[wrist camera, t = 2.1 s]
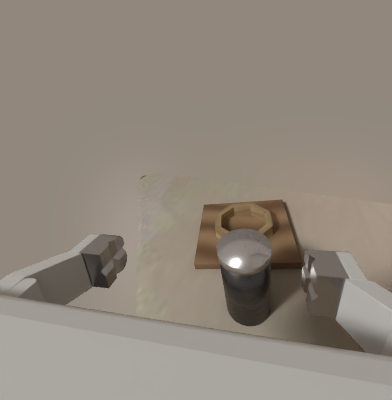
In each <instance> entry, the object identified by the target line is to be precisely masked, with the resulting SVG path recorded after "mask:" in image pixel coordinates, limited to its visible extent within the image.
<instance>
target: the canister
mask: <svg viewBox="0 0 392 400" xmlns="http://www.w3.org/2000/svg"><path fill="white" fill-rule="evenodd" d="M217 255H218V260H219V262H220V267H221V273H222V279H223V285H224V291H225V297H226V302H227V308H228V312H229V314H230V315H231V317H232V318H233V319H234V320H235V321H236V322H238V323H240V324H242V325H245V326H256V325H259V324H261V323H262V322H264V321H265V320H266V319H267V317H268V315H269V312H270V274H271V258H272V246H271V243H270V241H269V239H268V238H267V237H266V236H265V235H264V234H262V233H260V232H258V231H256V230H252V229H236V230H233V231H230V232H228V233H226V234H225V235H223V236H222V237H221V238H220V240H219V241H218V244H217Z"/></svg>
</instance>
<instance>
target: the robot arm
mask: <svg viewBox="0 0 392 400" xmlns="http://www.w3.org/2000/svg"><path fill="white" fill-rule="evenodd" d="M123 245H124V241H123V238H122V237H121V236H115V235H105V234H90V235H89V236H88V237H87V238H85V239H84V240H83V241H82V242H81V243H79V244H78V245H77V246H76V247H75V248H73V249H72V250H71V251H70V252H65V253H62V254H60V255H57V256H55V257H52V258H49V259H47V260H44V261H42V262H39V263H37V264H34V265H31V266H29V267H26V268H24V269H21V270H19V271H16V272H14V273H11V274H9V275H7V276H6V277H5V278H3V279H2V280H0V400H392V293H391V292H389V291H388V290H386V289H385V288H383V287H381V286H380V285H378V284H377V283H375V282H373V281H368V280H367V278H366V277H365V275H364V273H363V272H362V270H361V269H360V267H359V266H358V264H357V262H356V261H355V259H354V258H353V256H352V255H351V253H350V252H347V251H322V250H305V254H304V261H305V264H306V265H304V266H303V267H302V286H303V290H304V292H305V293H306V294H307V297H306V302H307V306H308V309H309V313H310V315H315V316H322V317H328V318H334V319H336V321H337V322H338V323H339V324H340V325H341V326H342V327H343V328H344V329H345V330H346V331H347V333H348V334H349V335H350V336H351V337H352V338H353V339H354V340H355V341H356V342H357V343H358V344H359V345H360V346H361V347H362V349H363V350H364V351H365V352H366V353H364V352H358V351H352V350H345V349H339V348H333V347H327V346H320V345H314V344H307V343H301V342H294V341H288V340H282V339H275V338H269V337H263V336H257V335H250V334H244V333H238V332H232V331H225V330H219V329H213V328H207V327H200V326H194V325H188V324H181V323H175V322H169V321H162V320H156V319H150V318H143V317H137V316H130V315H124V314H117V313H112V312H105V311H98V310H92V309H86V308H80V307H74V306H67V305H66V304H68V303H69V302H71V301H72V300H74V299H75V298H77V297H78V296H80V295H81V294H83V293H84V292H86V291H88V290H89V289H90V288H92V287H102V288H109V287H110V286H111V285H112V283H113V282H114V281H115V279H116V278H117V275H116V274H117V273H119V272H121V271H122V270H123V269H124V267H125V265H126V262H127V254H126V251H125V250H124V249H123V248H122V247H123Z"/></svg>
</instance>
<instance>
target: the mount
mask: <svg viewBox="0 0 392 400" xmlns="http://www.w3.org/2000/svg"><path fill="white" fill-rule="evenodd" d="M236 229H252V230H256V231H258V232H260V233H262V234H264V235H265V236H266V237H267V238H268V239H269V241H270V243H271V246H272V258H271V268H301V265H302V262H301V258H300V255H299V252H298V249H297V246H296V242H295V239H294V236H293V233H292V229H291V226H290V223H289V220H288V217H287V213H286V210H285V207H284V204H283V201H282V200H271V201H255V202H240V203H225V204H210V205H204V208H203V214H202V220H201V226H200V232H199V238H198V244H197V250H196V256H195V262H194V265H195V269H221V267H220V262H219V260H218V255H217V244H218V241H219V240H220V238H221V237H222V236H223V235H225V234H226V233H228V232H230V231H233V230H236Z"/></svg>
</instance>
